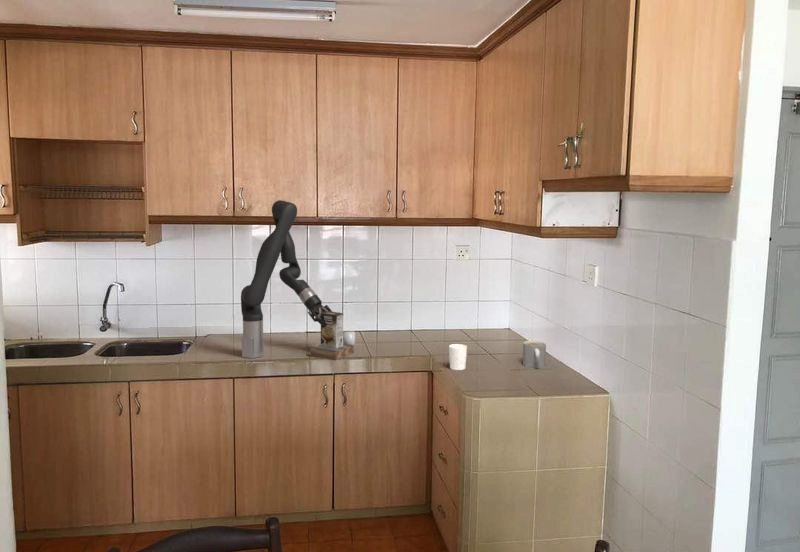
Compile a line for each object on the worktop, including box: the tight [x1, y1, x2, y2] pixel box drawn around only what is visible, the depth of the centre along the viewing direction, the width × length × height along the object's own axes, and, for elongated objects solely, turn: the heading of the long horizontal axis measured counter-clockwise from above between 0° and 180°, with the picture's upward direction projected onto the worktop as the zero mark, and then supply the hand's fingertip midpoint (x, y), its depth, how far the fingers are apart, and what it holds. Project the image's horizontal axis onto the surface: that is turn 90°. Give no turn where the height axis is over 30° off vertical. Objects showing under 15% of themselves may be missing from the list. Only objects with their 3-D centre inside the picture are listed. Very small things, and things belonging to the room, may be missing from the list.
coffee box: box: [320, 311, 344, 348], centre depth 306 cm, size 9×6×16 cm
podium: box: [310, 343, 355, 361], centre depth 307 cm, size 16×14×4 cm
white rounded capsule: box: [343, 330, 356, 350], centre depth 320 cm, size 6×6×8 cm
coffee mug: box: [522, 340, 547, 369], centre depth 290 cm, size 13×10×10 cm
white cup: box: [448, 343, 468, 371], centre depth 285 cm, size 8×8×10 cm
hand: (330, 325), depth 306 cm, fingers open, 8 cm apart
